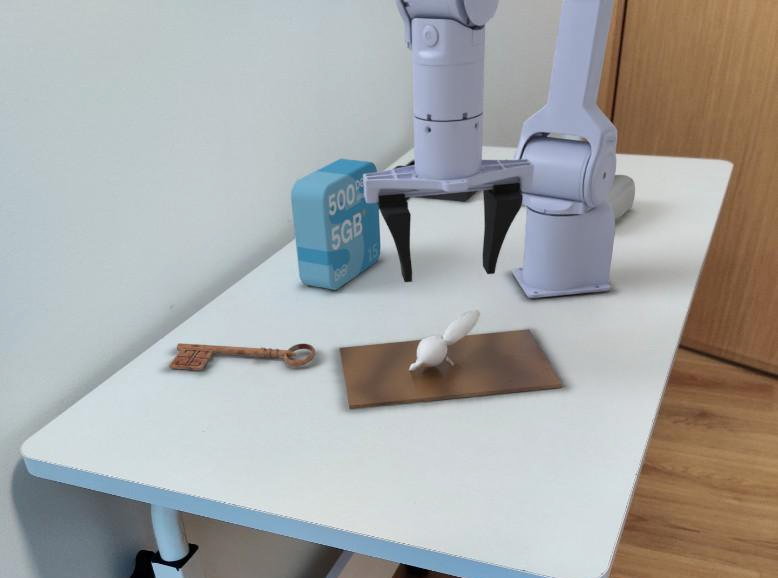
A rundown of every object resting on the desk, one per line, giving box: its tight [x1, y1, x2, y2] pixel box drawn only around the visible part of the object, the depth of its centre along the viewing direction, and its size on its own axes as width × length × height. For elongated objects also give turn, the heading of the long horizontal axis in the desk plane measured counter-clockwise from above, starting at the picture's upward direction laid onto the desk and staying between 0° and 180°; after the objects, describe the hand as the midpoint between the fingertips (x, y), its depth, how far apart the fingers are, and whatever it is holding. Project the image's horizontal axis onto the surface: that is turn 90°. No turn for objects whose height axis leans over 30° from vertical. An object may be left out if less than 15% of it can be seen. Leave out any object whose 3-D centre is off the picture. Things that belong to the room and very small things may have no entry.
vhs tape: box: [393, 165, 478, 202], centre depth 126 cm, size 14×8×2 cm, turn 65°
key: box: [168, 342, 316, 371], centre depth 86 cm, size 6×1×15 cm
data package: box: [290, 158, 382, 291], centre depth 99 cm, size 12×4×12 cm, turn 150°
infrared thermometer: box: [604, 174, 636, 221], centre depth 114 cm, size 5×12×15 cm
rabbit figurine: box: [409, 309, 481, 371], centre depth 81 cm, size 6×4×8 cm
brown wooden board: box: [338, 328, 563, 410], centre depth 82 cm, size 20×12×1 cm, turn 96°
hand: (447, 274), depth 77 cm, fingers open, 7 cm apart
